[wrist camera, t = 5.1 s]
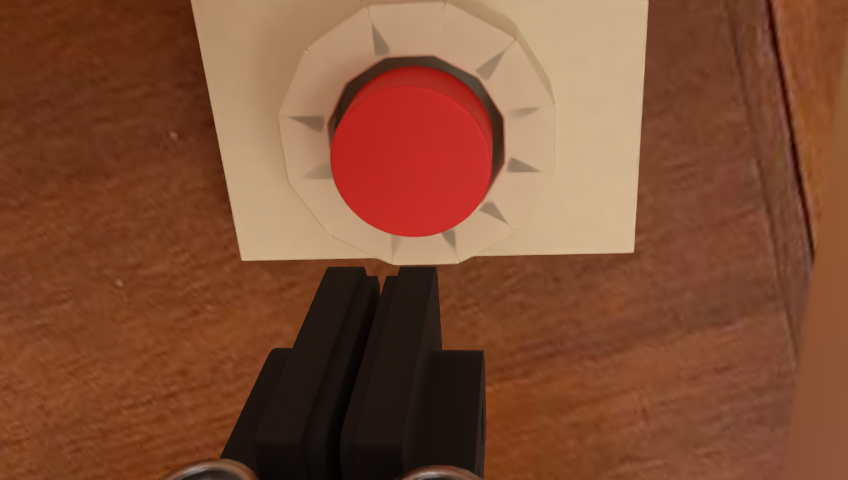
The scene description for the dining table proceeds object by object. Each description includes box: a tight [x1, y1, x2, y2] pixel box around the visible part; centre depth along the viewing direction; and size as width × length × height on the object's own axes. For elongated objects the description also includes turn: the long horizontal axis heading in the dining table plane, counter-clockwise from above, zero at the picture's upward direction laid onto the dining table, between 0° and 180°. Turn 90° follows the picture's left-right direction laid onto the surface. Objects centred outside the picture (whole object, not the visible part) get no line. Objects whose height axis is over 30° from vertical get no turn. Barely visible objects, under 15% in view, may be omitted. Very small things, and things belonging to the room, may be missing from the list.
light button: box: [330, 66, 493, 237], centre depth 18 cm, size 4×4×2 cm
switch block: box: [191, 0, 649, 265], centre depth 20 cm, size 11×8×4 cm
